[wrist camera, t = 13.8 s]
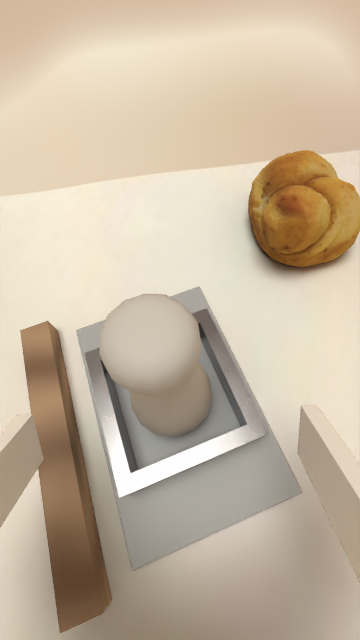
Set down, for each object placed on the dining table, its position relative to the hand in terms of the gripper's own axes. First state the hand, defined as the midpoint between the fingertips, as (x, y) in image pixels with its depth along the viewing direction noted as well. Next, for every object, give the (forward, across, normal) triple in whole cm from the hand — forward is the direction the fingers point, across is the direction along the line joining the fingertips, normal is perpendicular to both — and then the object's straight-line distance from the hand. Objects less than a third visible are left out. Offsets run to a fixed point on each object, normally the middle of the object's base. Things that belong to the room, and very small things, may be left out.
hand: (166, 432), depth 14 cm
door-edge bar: (+6, -9, -6) cm, 12 cm away
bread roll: (+21, +12, +9) cm, 26 cm away
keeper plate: (+8, 0, -4) cm, 9 cm away
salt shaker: (+8, 0, -3) cm, 9 cm away
